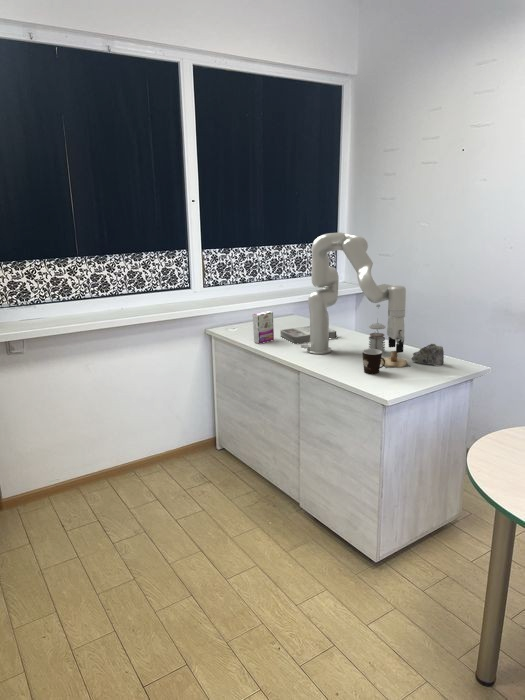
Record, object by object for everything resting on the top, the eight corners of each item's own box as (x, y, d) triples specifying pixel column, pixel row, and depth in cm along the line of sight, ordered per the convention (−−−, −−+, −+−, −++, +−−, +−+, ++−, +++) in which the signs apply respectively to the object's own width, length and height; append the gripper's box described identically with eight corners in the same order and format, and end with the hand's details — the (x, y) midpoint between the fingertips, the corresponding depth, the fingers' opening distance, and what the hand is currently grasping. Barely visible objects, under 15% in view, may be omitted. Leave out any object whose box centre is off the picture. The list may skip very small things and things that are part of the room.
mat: (385, 369, 228) (385, 368, 228) (377, 361, 240) (377, 360, 240) (411, 367, 230) (411, 366, 229) (401, 360, 241) (401, 358, 241)
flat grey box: (337, 338, 284) (337, 331, 283) (294, 344, 274) (294, 337, 273) (320, 331, 301) (320, 324, 299) (279, 337, 290) (279, 330, 289)
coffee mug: (359, 370, 228) (359, 349, 225) (377, 369, 228) (378, 348, 226) (366, 379, 216) (367, 356, 214) (386, 378, 217) (387, 355, 214)
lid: (385, 368, 228) (386, 356, 227) (377, 360, 240) (377, 348, 238) (411, 366, 229) (411, 354, 228) (401, 359, 241) (402, 347, 239)
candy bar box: (268, 338, 286) (267, 310, 282) (274, 340, 283) (273, 311, 278) (253, 342, 279) (252, 313, 275) (259, 344, 276) (258, 315, 271)
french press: (386, 350, 257) (388, 302, 250) (385, 357, 246) (388, 307, 239) (367, 350, 259) (368, 302, 252) (365, 356, 249) (367, 306, 242)
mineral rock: (410, 363, 236) (411, 342, 233) (423, 358, 243) (424, 338, 240) (434, 369, 227) (436, 348, 224) (447, 364, 233) (449, 343, 230)
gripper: (382, 310, 236) (381, 345, 240) (395, 317, 219) (394, 355, 224) (397, 309, 237) (396, 344, 241) (412, 316, 220) (410, 354, 224)
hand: (395, 349), depth 232 cm, fingers open, 9 cm apart
